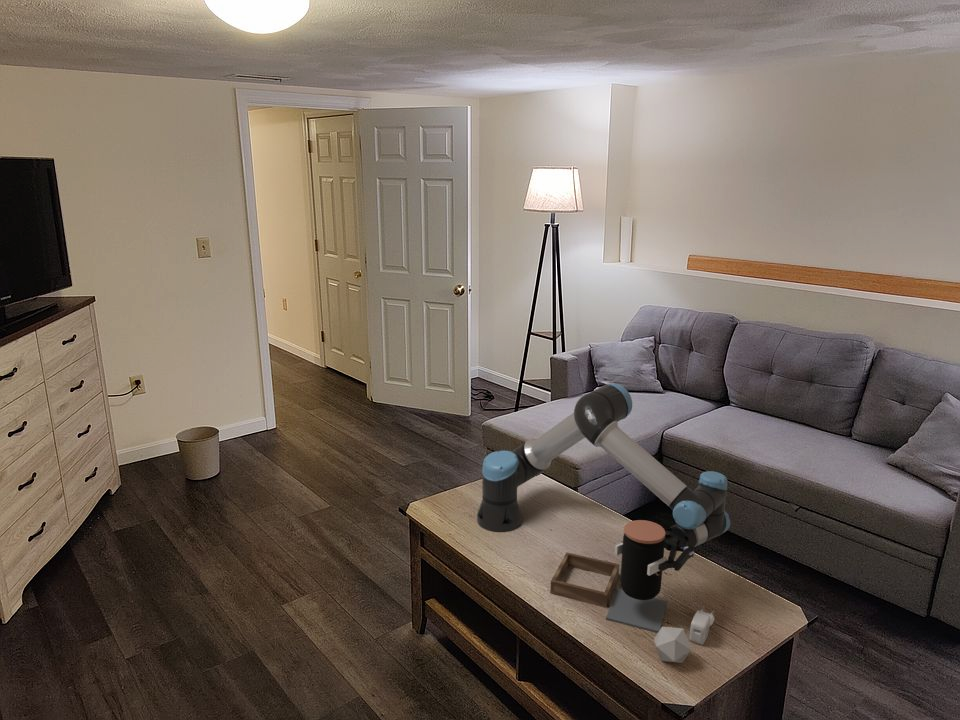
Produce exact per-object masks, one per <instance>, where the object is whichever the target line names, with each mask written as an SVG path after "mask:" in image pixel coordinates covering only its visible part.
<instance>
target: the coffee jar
mask: <svg viewBox="0 0 960 720" xmlns="http://www.w3.org/2000/svg"><path fill="white" fill-rule="evenodd" d="M623 532H624V533H623V537H622V541H623V548H622V554H621V565H620V577H619V578H620V579H619V585H620V587H621V588H620V589H621V590H623V591H624V592H625V594H627V595H628V596H629V597H632V598H634V599H638V600H650V599H653V598H657V596H658V595H659V593H660V592H661V590H662V589H661V588H662V578H663V577H662V576H663V571H658V572H656V573H654V574H652V575H650V576H649V575H647V569H648V565H649V564H651V563H653V562H655V561H658V560H660V559H662V558H664V557H665V548H664V546H665V540H664V538H665V533H666V532H665V528H663V526H662V525H660V524H658V523H657V522H653V521H650V520H644V519H638V520H632V521H629V522H627V523H625V524H624V527H623Z"/></svg>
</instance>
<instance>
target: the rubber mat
mask: <svg viewBox="0 0 960 720" xmlns="http://www.w3.org/2000/svg"><path fill="white" fill-rule="evenodd" d="M667 604H668V600H667V599H662V598H658V597H655V598H653V599H650V600H638V599H634V598H632V597H629V596H628V595H627V594H625V592H624V591H623V589H622V588H616V590H615V593H614V595H613V598H612V601H611V604H610V606H609V608H608V612H607V615H606V616H605V620H606V621H610V622H614V623H619V624H621V625H624V626H628V627H634V628H638V629H640V630H641V629H642V630H644V631H648V632H649V631H650V632H651V633H657V634H658V632H659V631H660V629H661V628H662V624H663V619H664V616H665V613H666V610H667V609H666V608H667Z"/></svg>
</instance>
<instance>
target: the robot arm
mask: <svg viewBox="0 0 960 720" xmlns="http://www.w3.org/2000/svg"><path fill="white" fill-rule="evenodd" d="M632 410H633V400H632V396H631V395H630V392H629V391H628V390H627V389H626V388H625V387H624V386H623V385H621V384H618V383H613V382H612V383H607V384H604V385H602V386H601V387H598V388H596V389H594V390H593V391H591V392H588V393H586V394H584V395H583V396H581V397H580V398H579V399H578V400H577V402H576V403H575V406H574V409H573V412H572V413H570V414H569V416H566V418H564V419H562V420H561V421H560V422H558V423H557V424H556V425H554V426H553V427H551V429H549V430H547V431H546V432H544V433H543V434H542V435H540V436H539V437H537V438H535V437H531V438H528V439H527V440H526V441H524V442H523V443H522V444H520V445H518V447H516V448H514V449H513V450H499V451H497V450H496V451H493V452H491V453H489V454H487V455H486V456H485V457H484V459H483V462H482V467H481V468H482V469H481V470H482V471H481V472H482V476H481V477H482V487H481V488H482V494H481V495H482V499H481V502H480V506H479V508H478V510H477V514H476V515H477V516H476V522H477V523H478V525H479V526H480V527H481V528H483V529H484V530H487V531H491V532H498V533H499V532H501V533H502V532H508V531H513V530H515V529H517V528H518V527H520V526H521V524H522V519H523V518H522V517H523V516H522V510H521V508H520V504H519V502H518V488H519V487H520V486H521V485H523V484H525V483H526V482H528V481H531V480H532V479H533V478H535V477H538V476H540V475H542V473H544V471H546V470H547V469H548V468H549V467H550V466H551V464H552V460H554V459H555V458H557V457H558V456H560V455H561V454H562V453H565V452H566V451H568V450H569V449H570V448H572V447H573V446H575V445H576V444H578V443H579V442H581V441H582V440H584V439H587V441H589V443H591V444H592V445H593V446H594V447H595V448H597V447H599V448H602V449H603V450H604V451H605V452H606V453H607V454H608V455H610V456H611V457H612V458H613V459H614V460H615V461H616V462H617V463H618V464H620V465H621V466H622V467H623V468H625V470H627V471H628V472H629V473H630V474H631V475H632V476H633V477H635V479H637V480H638V481H639V482H640V483H641V484H643V485H644V486H645V487H646V488H647V489H648V490H649V491H650V492H652V494H654V495H655V496H656V497H658V498H659V499H660V500H661V501H662V502H663V503H664V504H666V506H668V507H669V508H670V510H672V517H673V519H674V522H675V524H673V525H671V526H670V527H669V528H668V530H666V531H665V532H666V533H665V538H664V540H665V546H664V550H666V551H669V554H668V556H667V557H668V558H667V557H665V556H664V557H663V558H662V559H660V560H658V561H655V562H653V563H651V564H649V565H648V569H647V575H649V576H650V575H652V574H654V573H656V572H658V571H662V572H664V571H666V570H668V569H674V570H675V571H677V572H679V571H680V570H681V569H682V567H683V566H684V565H685V564H686V563H687V562H688V560H689V559H691V558H693V557H694V556H695V555H694V554H695V547H697V546H700V545H702V544H704V543H706V542H708V541H710V540H712V539H714V538H718V537H720V536H721V535H723V534H724V533H725V532H727V531H728V530H730V527H731V519H730V515H729V513H728V512H727V511H726V510H725V509H726V508H725V506H726V498H727V492H728V478H727V477H726V476H725V475H724V474H722V473H720V472H717V471H712V470H708V471H703V472H701V474H700V475H699V480H698V486H697V487H695V488H694V490H692V489H691V488H690V487H688V485H687V484H685V483H684V482H683V481H682V480H680V479H679V478H678V477H677V476H676V475H674V473H673V472H671V471H670V470H669V469H667V468H666V467H665V466H664V465H663V464H661V462H660V461H658V460H657V459H656V458H655V457H654V456H652V454H650V453H649V452H648V451H646V449H645V448H643V446H641V445H639V443H637V442H636V441H635V440H634V439H633V438H631V437H630V436H629V435H628V434H627V433H626V432H625V431H623V430H622V429H621V428H620V427H619V425H618V424H619V423H618V422H620V421H621V420H624V419H627V417H628V416H629V415H630V414H631V412H632ZM614 547H615V548H614V555H615V556H619V555H622V548H623V540H622V541H621V542H620V543H617V544H615V546H614ZM677 552H679V553H680V555H679V556H678V557H677V558H676V555H677ZM675 558H676V560H675Z"/></svg>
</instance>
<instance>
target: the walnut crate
mask: <svg viewBox="0 0 960 720" xmlns="http://www.w3.org/2000/svg"><path fill="white" fill-rule="evenodd" d="M568 568H574V569H577V570H582V571H587V572H591V573H595V574H599V575H602V576H603V575H604V576H607V577H609V579H608V583H607V585H606V588H605V590H604V591H601V590H597V589H593V588H590V587H584V586H581V585H577V584H573V583H568V582H565V581H562V579H563V577H564V575H565V574H566V572H567V570H568ZM619 574H620V564H619V563H616V562H615V563H614V562H610V561H607V560H602V559H598V558H593V557H588V556H585V555H579V554H576V553H571V552H565V555H564V557H563V558H562V560H561V562H560V564H559V566H558V567H557V569H556V571H555V573H554V575H553V577H552V578H551V579H550V580H551V581H550V592H549V593H550V594H551V595H554V596H558V597H562V598H566V599H567V598H568V599H570V600H574V601H578V602H583V603H587V604H590V605H594V606H597V607H602V608H607V607H608V604H609V601H610V599H611V597H612V594H613V591H614V589H615V586H616V584H617V581H618V579H619Z"/></svg>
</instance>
